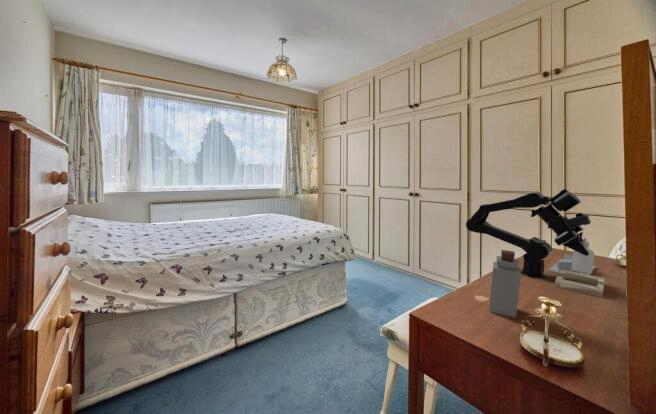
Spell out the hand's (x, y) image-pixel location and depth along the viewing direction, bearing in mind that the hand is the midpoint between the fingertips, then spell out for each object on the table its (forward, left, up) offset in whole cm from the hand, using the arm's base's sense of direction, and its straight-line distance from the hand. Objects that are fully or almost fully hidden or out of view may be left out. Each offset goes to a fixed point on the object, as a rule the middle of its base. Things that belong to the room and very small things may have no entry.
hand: (588, 254), depth 103 cm
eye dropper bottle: (-1, +1, -7) cm, 7 cm away
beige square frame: (-1, +1, -12) cm, 12 cm away
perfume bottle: (-43, -12, -12) cm, 46 cm away
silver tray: (+14, +17, -12) cm, 25 cm away
